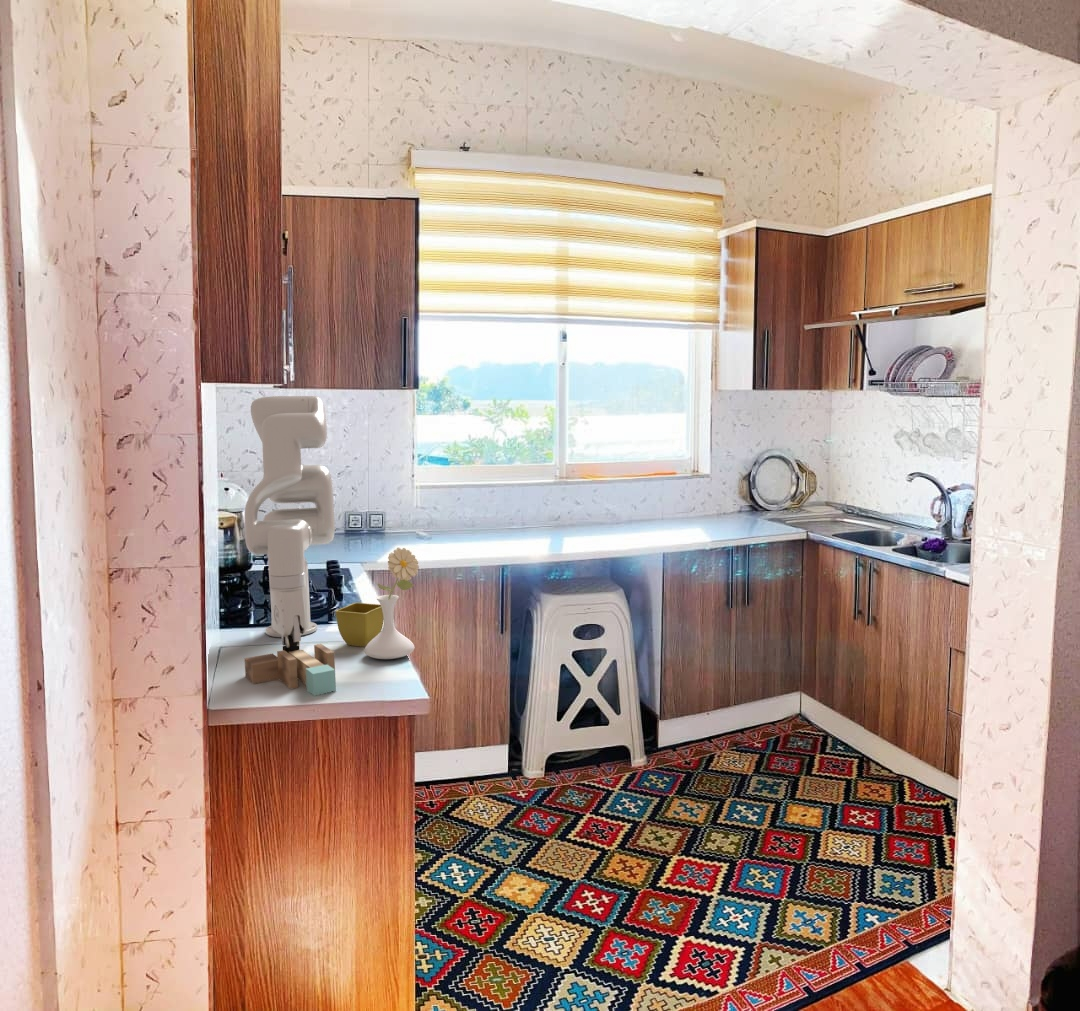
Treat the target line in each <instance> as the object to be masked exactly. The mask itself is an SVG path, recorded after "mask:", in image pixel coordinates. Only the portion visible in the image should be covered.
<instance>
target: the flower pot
mask: <svg viewBox="0 0 1080 1011" xmlns="http://www.w3.org/2000/svg"><path fill="white" fill-rule="evenodd" d="M334 612H335V618H336V619H335V620H336V623H337V629H338V632H339V634H340V636H341V638H342V639H343V641H344V642H345V644H346V645H347V646H354V647H355V646H356V647H364V648H365V647H366V646H367V644H368V643H369V642H370V641H371V640H372V639H373V638H375V637H376V636H377V635H378V634H379V633H380V632H381V631H382V629H383V625H384V619H383V611H382V607H381V604H380V603H378V604H376V603H365V602H354V603H351V604H348V605H346V606H344V607H341V608H339V609H336V610H335V611H334Z"/></svg>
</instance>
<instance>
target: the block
mask: <svg viewBox="0 0 1080 1011" xmlns="http://www.w3.org/2000/svg"><path fill="white" fill-rule="evenodd" d="M306 684H307V685H306V690H308V691H307V692H308V693H309V694H311V693H312V694H313V695H312V694H311V695H312V696H314V695H317V696H319V695H318V694H321V695H324V694H323V693H326V694H328V693H327V692H331V691H336V692H337V685H336V684H337V683H336V668H335V669H333V668H332V667H330V666H329V665H322V666H316V667H311V668H306ZM331 693H332V692H331Z"/></svg>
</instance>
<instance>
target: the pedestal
mask: <svg viewBox="0 0 1080 1011" xmlns="http://www.w3.org/2000/svg"><path fill="white" fill-rule="evenodd" d="M244 672H245V673H244V674H245V678H246V679H248V680H249V681H250V682H251V683H252V684H253V685H254V684H259V683H264V682H266V683H267V682H269V681H270V682H271V681H276V680H279V677H278V658H277V655H276V654H274V653H269V654H268V653H267V654H263V655H257V656H250V657H245V658H244Z"/></svg>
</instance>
